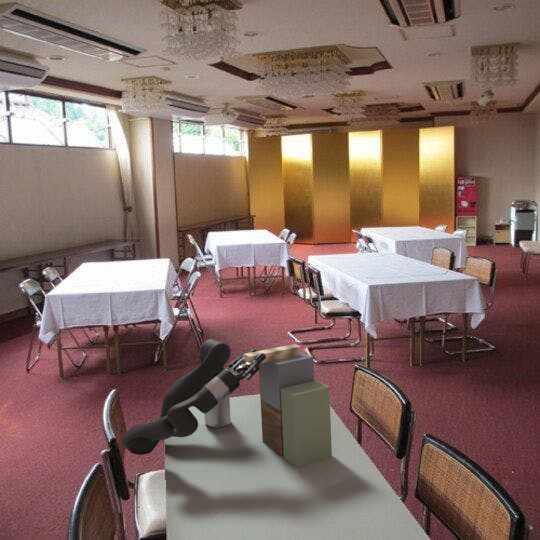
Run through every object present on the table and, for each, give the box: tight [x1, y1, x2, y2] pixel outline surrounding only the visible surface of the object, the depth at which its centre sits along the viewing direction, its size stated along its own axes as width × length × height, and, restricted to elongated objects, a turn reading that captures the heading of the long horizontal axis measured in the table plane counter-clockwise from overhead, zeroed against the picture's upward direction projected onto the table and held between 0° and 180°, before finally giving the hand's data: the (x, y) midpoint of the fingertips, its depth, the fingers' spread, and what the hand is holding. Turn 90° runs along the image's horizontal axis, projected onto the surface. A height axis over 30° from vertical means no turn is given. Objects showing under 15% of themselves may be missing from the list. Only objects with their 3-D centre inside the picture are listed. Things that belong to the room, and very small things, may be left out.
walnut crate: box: [260, 399, 284, 457], centre depth 201 cm, size 14×14×16 cm
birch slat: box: [243, 343, 302, 366], centre depth 195 cm, size 20×4×3 cm, turn 119°
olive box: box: [281, 379, 333, 467], centre depth 190 cm, size 14×8×24 cm, turn 119°
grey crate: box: [258, 351, 315, 411], centre depth 199 cm, size 14×14×16 cm
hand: (260, 353), depth 193 cm, fingers open, 5 cm apart
